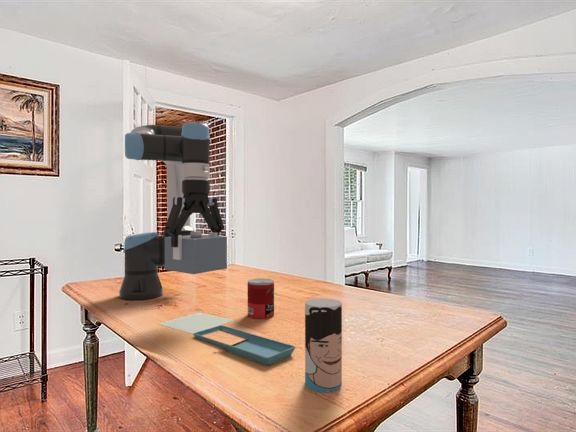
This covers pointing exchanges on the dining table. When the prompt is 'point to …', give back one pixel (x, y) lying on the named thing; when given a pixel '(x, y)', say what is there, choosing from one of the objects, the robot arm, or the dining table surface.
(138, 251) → the robot arm
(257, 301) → the canned food
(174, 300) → the dining table surface
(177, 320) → the mat
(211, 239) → the cover
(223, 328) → the shallow long dish
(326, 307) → the printed grey cylinder
